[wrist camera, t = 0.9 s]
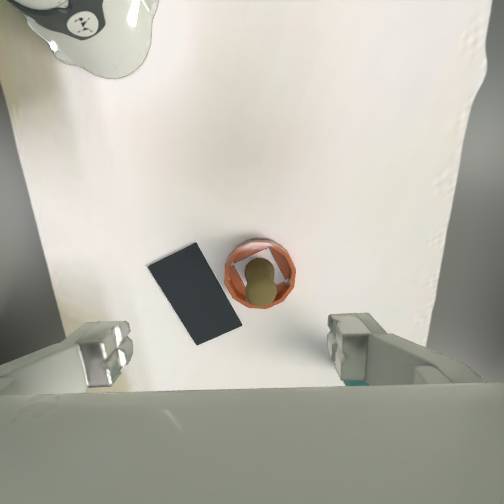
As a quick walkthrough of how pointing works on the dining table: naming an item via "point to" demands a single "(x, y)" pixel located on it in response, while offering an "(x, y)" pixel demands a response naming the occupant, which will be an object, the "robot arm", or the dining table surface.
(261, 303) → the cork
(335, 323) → the robot arm
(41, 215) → the dining table surface
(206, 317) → the mat
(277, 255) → the orange ring
